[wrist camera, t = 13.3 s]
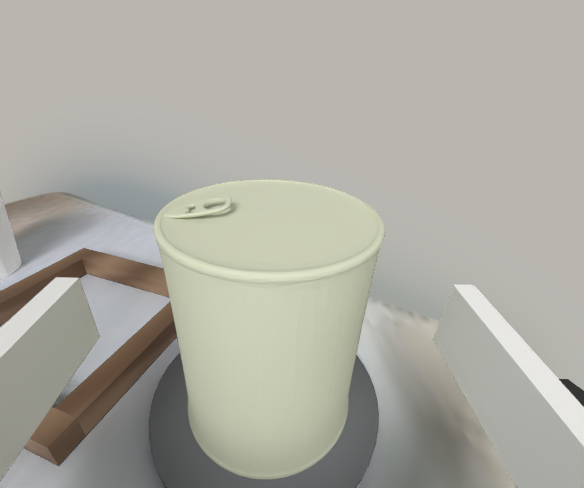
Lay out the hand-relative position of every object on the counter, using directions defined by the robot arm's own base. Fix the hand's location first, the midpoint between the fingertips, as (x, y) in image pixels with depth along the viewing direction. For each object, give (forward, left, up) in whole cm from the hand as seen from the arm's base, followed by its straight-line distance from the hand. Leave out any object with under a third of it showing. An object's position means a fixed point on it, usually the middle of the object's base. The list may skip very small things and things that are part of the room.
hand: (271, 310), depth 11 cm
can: (-1, +3, -9) cm, 10 cm away
